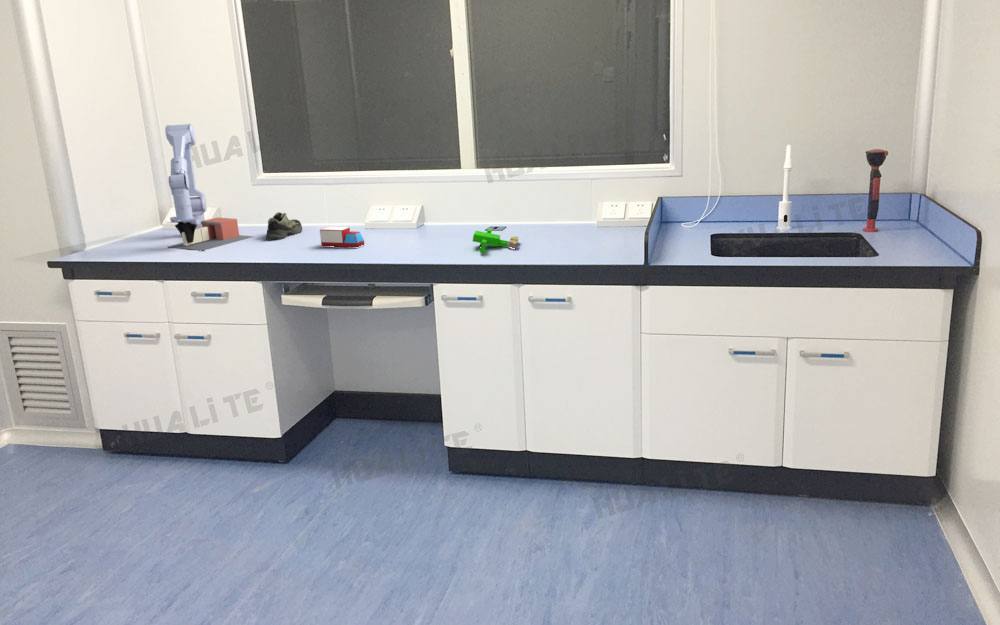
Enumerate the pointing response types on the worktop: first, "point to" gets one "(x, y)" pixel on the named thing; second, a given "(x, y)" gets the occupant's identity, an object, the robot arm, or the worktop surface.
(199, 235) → the cream rectangular block
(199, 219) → the robot arm
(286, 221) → the hiking shoe
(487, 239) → the toy
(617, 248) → the worktop surface
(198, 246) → the mat
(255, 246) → the worktop surface
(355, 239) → the toy truck
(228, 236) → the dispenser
